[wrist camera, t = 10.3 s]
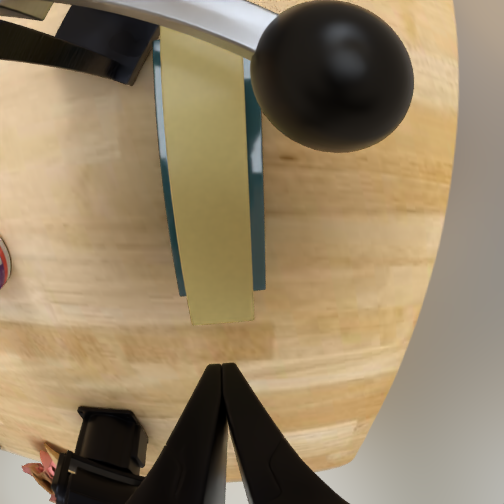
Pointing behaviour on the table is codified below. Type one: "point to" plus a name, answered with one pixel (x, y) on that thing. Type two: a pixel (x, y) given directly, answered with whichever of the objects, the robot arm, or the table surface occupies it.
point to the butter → (208, 175)
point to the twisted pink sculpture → (44, 470)
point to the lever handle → (291, 61)
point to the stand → (84, 44)
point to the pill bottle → (4, 264)
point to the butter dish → (253, 175)
